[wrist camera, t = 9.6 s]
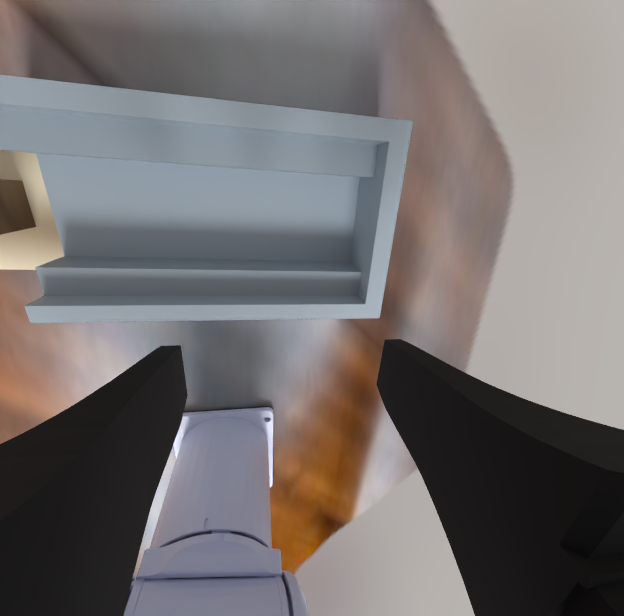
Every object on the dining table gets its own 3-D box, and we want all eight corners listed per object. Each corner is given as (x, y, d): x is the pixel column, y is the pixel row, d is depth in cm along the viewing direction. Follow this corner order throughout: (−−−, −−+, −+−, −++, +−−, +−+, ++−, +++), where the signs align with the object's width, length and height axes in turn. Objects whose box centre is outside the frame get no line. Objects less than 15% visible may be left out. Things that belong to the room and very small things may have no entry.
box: (357, 292, 21) (379, 318, 17) (80, 291, 18) (30, 323, 14) (377, 134, 17) (413, 121, 13) (29, 99, 14) (-62, 67, 10)
